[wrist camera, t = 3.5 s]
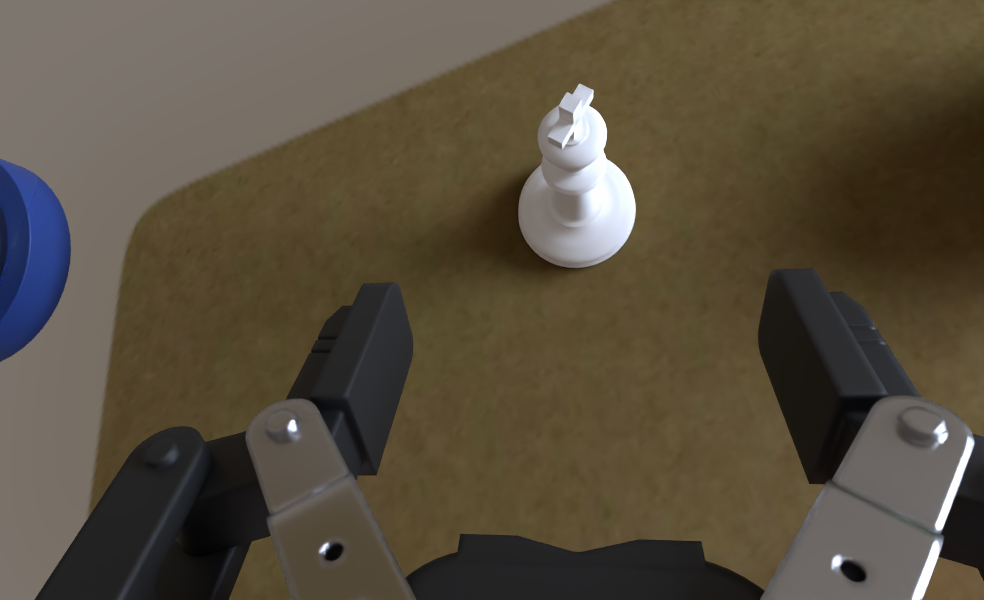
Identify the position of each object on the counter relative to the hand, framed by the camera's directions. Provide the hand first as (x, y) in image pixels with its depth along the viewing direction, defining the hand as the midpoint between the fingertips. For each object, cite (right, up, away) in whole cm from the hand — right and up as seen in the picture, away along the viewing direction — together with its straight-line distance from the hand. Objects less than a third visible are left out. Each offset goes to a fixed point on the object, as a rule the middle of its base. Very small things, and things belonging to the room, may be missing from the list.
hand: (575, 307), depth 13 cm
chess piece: (+2, +4, +12) cm, 13 cm away
